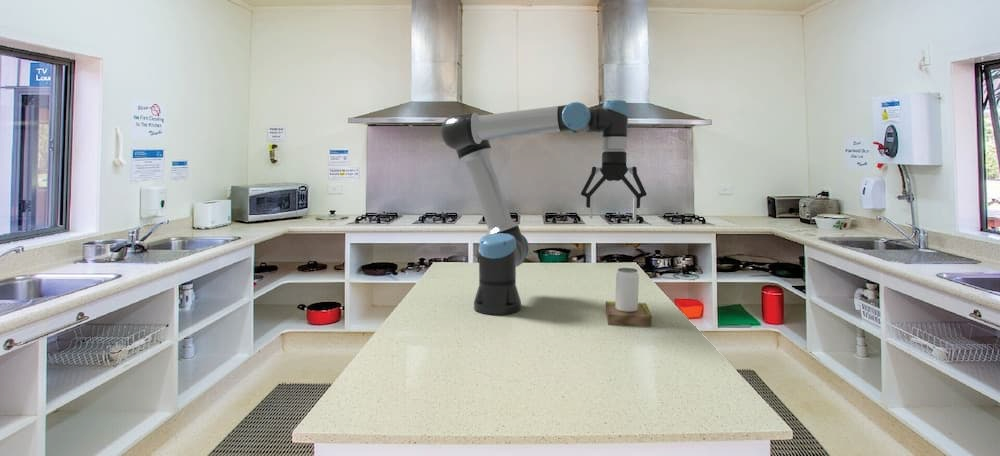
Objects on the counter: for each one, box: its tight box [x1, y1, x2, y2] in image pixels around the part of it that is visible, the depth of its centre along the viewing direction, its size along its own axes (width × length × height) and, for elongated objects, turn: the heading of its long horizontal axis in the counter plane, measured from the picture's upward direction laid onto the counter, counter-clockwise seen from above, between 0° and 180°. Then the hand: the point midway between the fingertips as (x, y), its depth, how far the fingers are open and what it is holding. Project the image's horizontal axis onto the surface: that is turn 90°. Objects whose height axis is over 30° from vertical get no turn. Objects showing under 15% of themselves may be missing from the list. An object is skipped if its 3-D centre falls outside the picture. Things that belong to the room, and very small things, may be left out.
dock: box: [605, 301, 653, 328], centre depth 148 cm, size 12×12×4 cm
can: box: [614, 267, 640, 312], centre depth 147 cm, size 6×6×12 cm
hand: (612, 218), depth 159 cm, fingers open, 13 cm apart
